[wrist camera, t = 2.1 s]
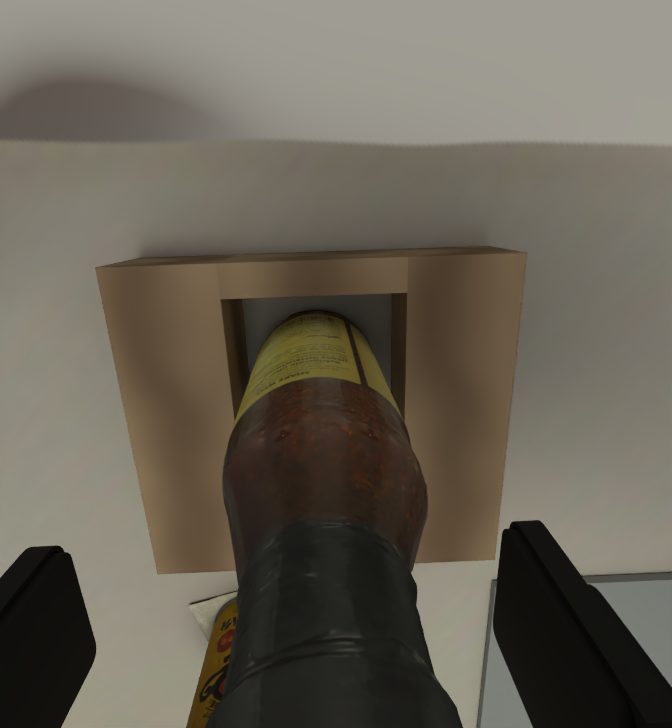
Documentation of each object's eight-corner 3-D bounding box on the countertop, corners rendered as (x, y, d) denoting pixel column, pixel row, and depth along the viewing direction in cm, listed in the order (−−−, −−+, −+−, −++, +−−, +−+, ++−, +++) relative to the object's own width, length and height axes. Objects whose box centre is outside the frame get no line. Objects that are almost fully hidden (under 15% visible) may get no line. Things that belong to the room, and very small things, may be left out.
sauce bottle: (241, 379, 25) (-33, 908, 6) (297, 283, 23) (167, 586, 4) (340, 432, 26) (380, 1013, 7) (399, 345, 24) (660, 797, 5)
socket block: (489, 245, 23) (527, 252, 18) (468, 507, 28) (494, 559, 23) (138, 258, 22) (95, 267, 18) (183, 518, 27) (157, 574, 23)
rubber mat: (725, 570, 30) (733, 577, 29) (675, 729, 35) (680, 738, 34) (492, 580, 30) (495, 587, 29) (475, 739, 35) (478, 747, 34)
